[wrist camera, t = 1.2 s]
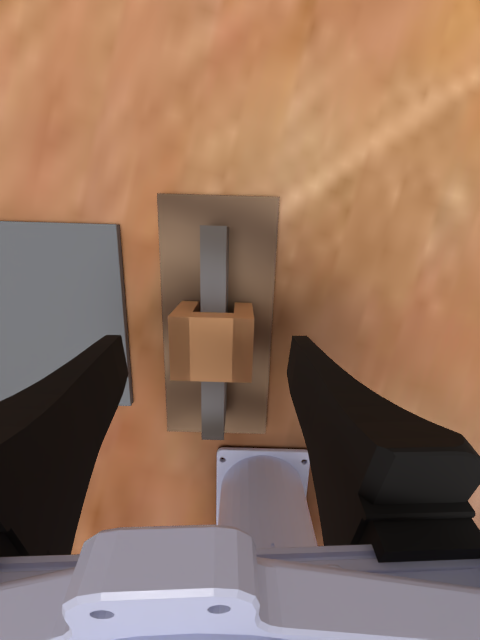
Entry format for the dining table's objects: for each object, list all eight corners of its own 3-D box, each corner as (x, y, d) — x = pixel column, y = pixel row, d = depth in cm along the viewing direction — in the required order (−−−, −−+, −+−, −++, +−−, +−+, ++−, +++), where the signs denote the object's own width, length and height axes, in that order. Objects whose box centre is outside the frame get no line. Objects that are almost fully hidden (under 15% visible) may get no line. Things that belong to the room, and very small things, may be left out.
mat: (133, 401, 25) (130, 405, 24) (-12, 397, 25) (-18, 401, 24) (119, 224, 21) (116, 224, 21) (-52, 220, 21) (-61, 219, 20)
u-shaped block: (249, 355, 22) (251, 382, 18) (183, 354, 22) (170, 380, 18) (252, 302, 21) (254, 318, 17) (181, 300, 21) (167, 316, 17)
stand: (264, 426, 25) (269, 465, 21) (170, 423, 25) (155, 462, 21) (277, 198, 21) (287, 189, 16) (160, 195, 21) (139, 184, 16)
